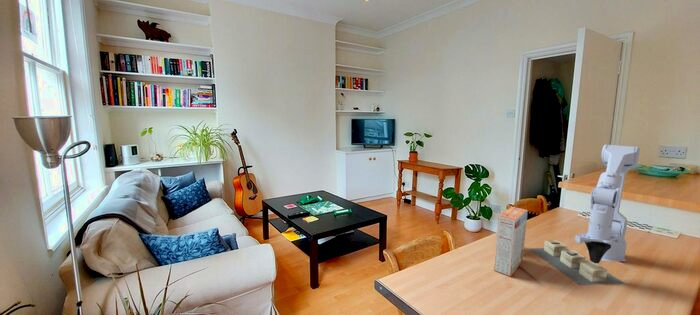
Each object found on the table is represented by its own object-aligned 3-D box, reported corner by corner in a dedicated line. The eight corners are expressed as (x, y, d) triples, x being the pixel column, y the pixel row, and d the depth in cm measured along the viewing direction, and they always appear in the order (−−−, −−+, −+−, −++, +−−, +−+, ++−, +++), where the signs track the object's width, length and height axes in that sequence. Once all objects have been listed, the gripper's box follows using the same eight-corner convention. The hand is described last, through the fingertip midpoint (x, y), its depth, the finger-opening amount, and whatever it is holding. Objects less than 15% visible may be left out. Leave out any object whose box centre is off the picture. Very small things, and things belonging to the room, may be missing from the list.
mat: (565, 248, 120) (565, 247, 120) (625, 285, 96) (625, 283, 95) (528, 249, 119) (528, 248, 119) (579, 286, 95) (579, 284, 94)
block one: (555, 249, 118) (556, 239, 118) (565, 255, 113) (566, 245, 113) (543, 249, 118) (544, 240, 117) (552, 256, 113) (554, 246, 112)
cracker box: (505, 257, 113) (511, 205, 110) (523, 262, 109) (529, 209, 106) (492, 270, 104) (497, 214, 100) (510, 277, 99) (517, 219, 96)
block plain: (592, 272, 102) (594, 262, 101) (605, 281, 97) (607, 270, 96) (578, 273, 101) (580, 262, 101) (591, 281, 96) (593, 270, 96)
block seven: (572, 260, 110) (574, 250, 109) (583, 267, 105) (585, 256, 104) (559, 260, 110) (561, 250, 109) (570, 267, 105) (572, 257, 104)
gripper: (590, 228, 91) (584, 268, 94) (633, 228, 92) (626, 267, 94) (572, 220, 98) (566, 257, 100) (612, 219, 99) (606, 256, 101)
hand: (594, 261), depth 98 cm, fingers closed
